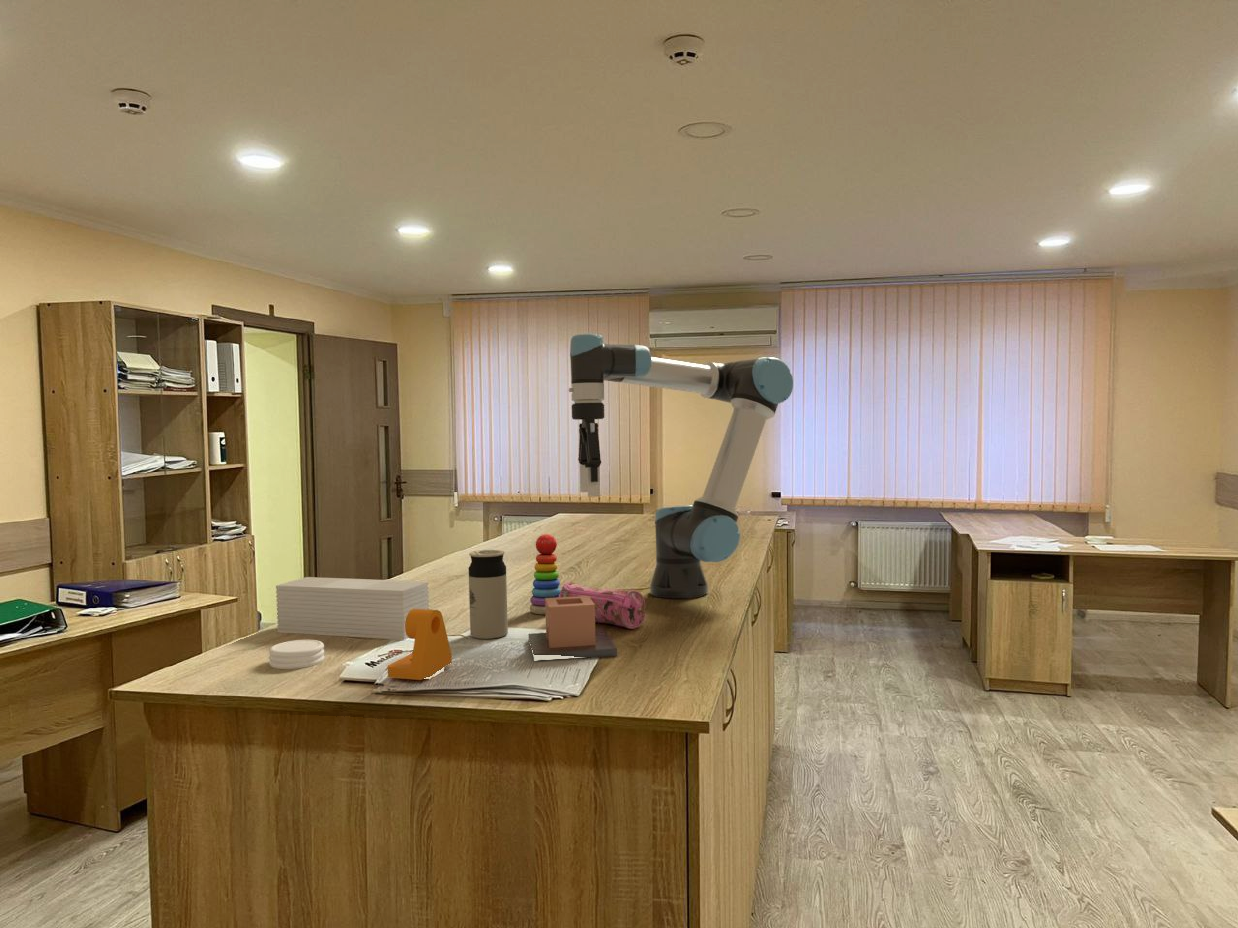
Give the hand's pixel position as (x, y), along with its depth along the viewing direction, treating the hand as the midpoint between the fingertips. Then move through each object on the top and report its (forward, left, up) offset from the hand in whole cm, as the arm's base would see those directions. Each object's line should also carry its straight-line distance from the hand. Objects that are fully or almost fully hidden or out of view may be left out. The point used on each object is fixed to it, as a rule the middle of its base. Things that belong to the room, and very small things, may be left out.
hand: (589, 494), depth 196 cm
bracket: (+37, +37, -29) cm, 60 cm away
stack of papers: (+54, -2, -29) cm, 61 cm away
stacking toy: (+10, -9, -29) cm, 32 cm away
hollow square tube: (+8, +26, -27) cm, 38 cm away
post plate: (+8, +26, -29) cm, 40 cm away
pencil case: (-1, +6, -29) cm, 30 cm away
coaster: (+61, +23, -29) cm, 71 cm away
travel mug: (+24, +11, -29) cm, 39 cm away
